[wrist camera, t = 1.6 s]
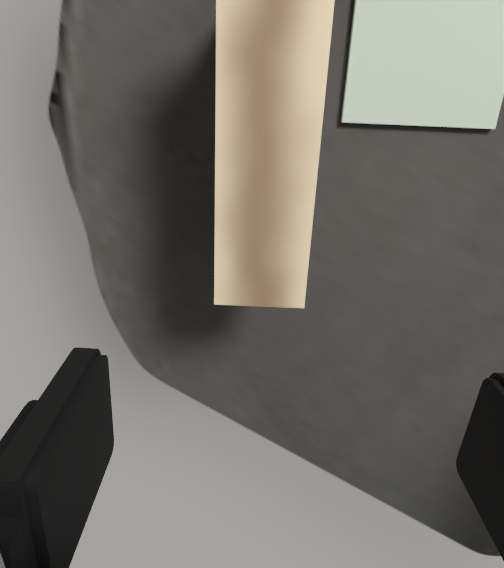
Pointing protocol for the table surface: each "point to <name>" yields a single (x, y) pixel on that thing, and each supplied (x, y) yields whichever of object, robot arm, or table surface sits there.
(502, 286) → the table surface
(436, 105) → the mat
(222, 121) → the beige wooden block
